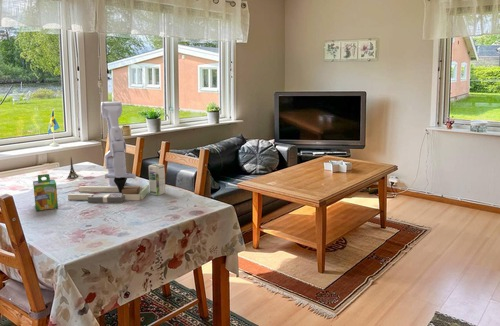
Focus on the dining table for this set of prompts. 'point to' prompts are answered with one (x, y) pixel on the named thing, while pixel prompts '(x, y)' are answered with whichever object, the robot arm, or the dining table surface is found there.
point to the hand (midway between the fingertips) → (121, 192)
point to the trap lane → (107, 197)
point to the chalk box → (45, 193)
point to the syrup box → (157, 179)
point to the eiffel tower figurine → (73, 173)
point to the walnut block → (131, 190)
